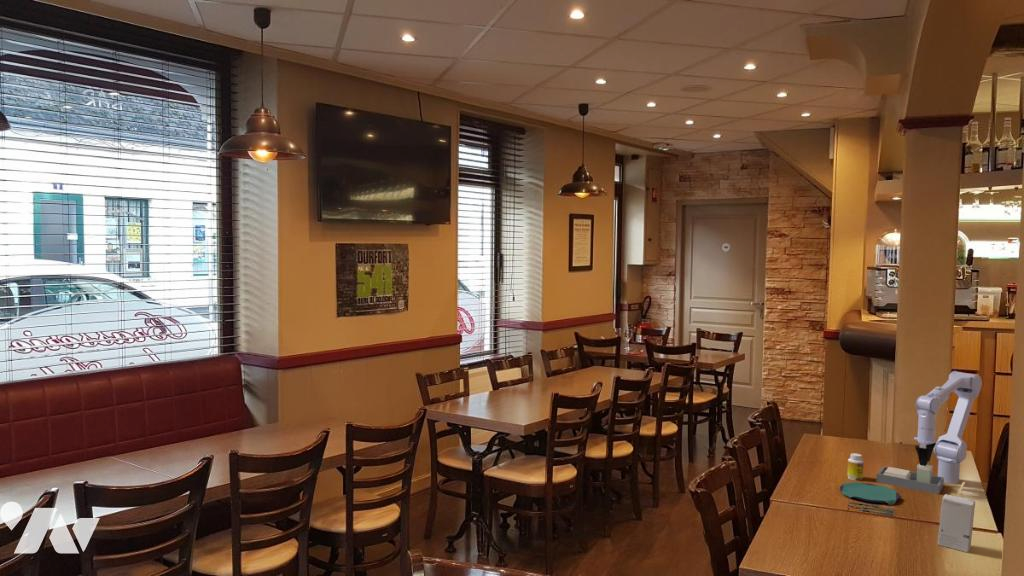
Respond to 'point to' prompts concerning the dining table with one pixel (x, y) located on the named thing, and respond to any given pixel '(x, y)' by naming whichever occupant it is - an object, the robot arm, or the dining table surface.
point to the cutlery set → (870, 495)
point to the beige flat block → (898, 473)
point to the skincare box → (956, 523)
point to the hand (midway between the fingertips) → (924, 463)
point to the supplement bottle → (855, 467)
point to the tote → (911, 482)
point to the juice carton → (924, 473)
